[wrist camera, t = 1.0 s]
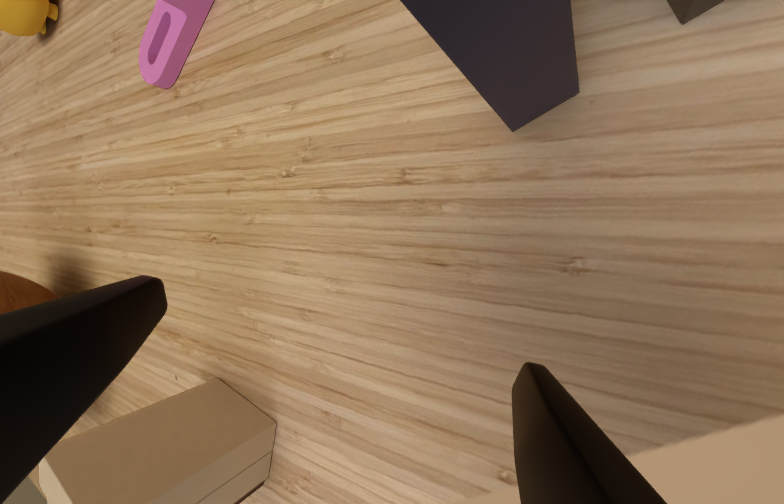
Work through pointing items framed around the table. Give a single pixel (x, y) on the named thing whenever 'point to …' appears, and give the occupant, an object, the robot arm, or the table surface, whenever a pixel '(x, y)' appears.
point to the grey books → (691, 8)
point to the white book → (507, 50)
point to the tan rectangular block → (166, 453)
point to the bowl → (21, 293)
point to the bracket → (170, 39)
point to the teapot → (26, 16)
